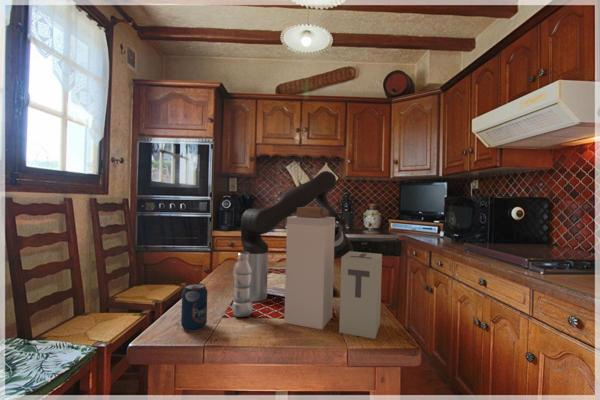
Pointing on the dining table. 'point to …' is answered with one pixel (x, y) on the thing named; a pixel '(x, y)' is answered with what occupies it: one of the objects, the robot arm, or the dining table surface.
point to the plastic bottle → (242, 286)
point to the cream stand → (309, 271)
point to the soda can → (194, 307)
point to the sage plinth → (360, 294)
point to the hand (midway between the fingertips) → (322, 213)
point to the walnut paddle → (312, 212)
